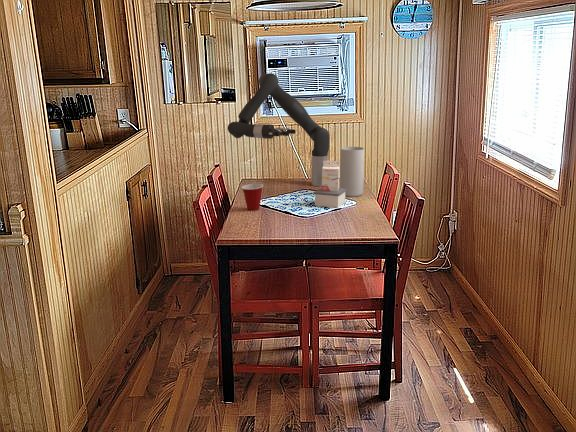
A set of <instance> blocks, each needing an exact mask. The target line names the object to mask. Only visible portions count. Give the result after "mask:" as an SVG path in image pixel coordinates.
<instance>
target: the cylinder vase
mask: <svg viewBox="0 0 576 432" xmlns="http://www.w3.org/2000/svg"><path fill="white" fill-rule="evenodd" d="M364 171H365V148H364V147H361V146H344V147H340V160H339V188H344V189H347V191H345V197H348V198H349V197H350V198H351V197H352V198H353V197H360V196H362V195H364V176H365V175H364V174H365V172H364Z"/></svg>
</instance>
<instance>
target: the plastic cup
mask: <svg viewBox="0 0 576 432" xmlns="http://www.w3.org/2000/svg"><path fill="white" fill-rule="evenodd" d="M263 188H264V184H262V183H249V184H245V185H241V190H242V191H243V195H244V199H245V203H246V207H247V210H248V211H252V212H255V211H258V210H260V205H261V200H262V195H263V194H262V193H263Z"/></svg>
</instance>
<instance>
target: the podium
mask: <svg viewBox="0 0 576 432" xmlns="http://www.w3.org/2000/svg"><path fill="white" fill-rule="evenodd" d="M345 191H347V189H344V188H340V187H339V190H338V191H322V186H320V188H319V189H316V190H315V191H313V195H314V205H315V206H316V207H318V206H319V207H326V208H338V209H339V207H341V206H342V205H343V204H345V202H346V196H345Z"/></svg>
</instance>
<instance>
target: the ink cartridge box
mask: <svg viewBox="0 0 576 432" xmlns="http://www.w3.org/2000/svg"><path fill="white" fill-rule="evenodd" d="M321 187H322V191H338V190H339V188H340V160H328V161H323V168H322V186H321Z"/></svg>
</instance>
